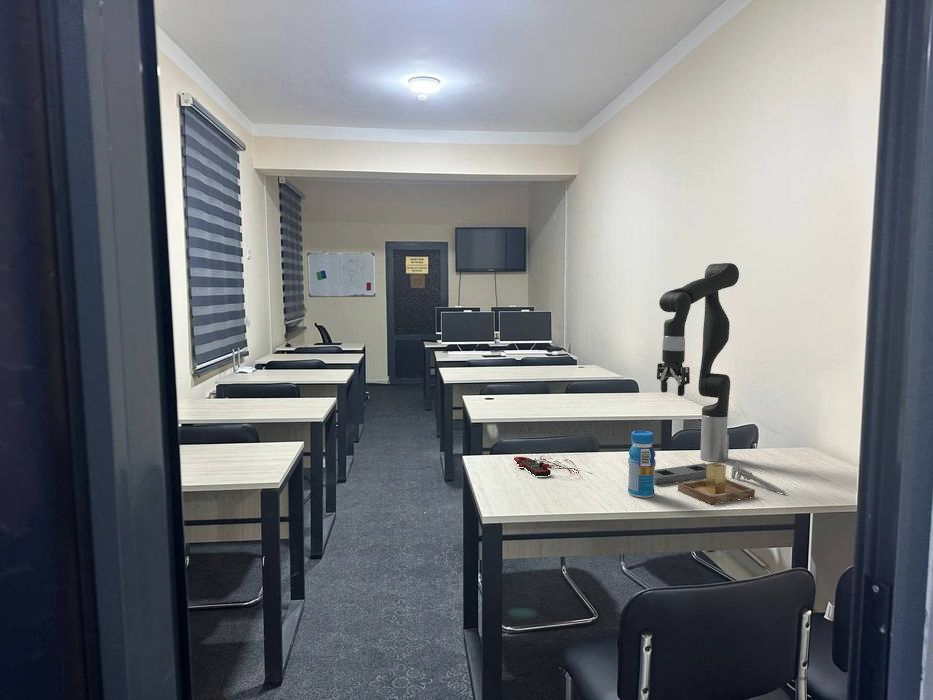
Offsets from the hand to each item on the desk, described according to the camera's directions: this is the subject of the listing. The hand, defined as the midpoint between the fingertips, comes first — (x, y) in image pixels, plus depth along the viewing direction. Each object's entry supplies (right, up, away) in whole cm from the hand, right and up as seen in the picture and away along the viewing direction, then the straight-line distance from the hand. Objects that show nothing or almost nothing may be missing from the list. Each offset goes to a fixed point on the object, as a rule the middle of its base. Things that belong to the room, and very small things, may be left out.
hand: (672, 393), depth 214 cm
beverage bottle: (-18, -31, -23) cm, 42 cm away
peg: (+6, -29, -23) cm, 38 cm away
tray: (+6, -30, -23) cm, 38 cm away
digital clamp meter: (-42, -28, +6) cm, 51 cm away
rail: (+1, -29, -5) cm, 29 cm away
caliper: (+23, -30, -15) cm, 41 cm away
